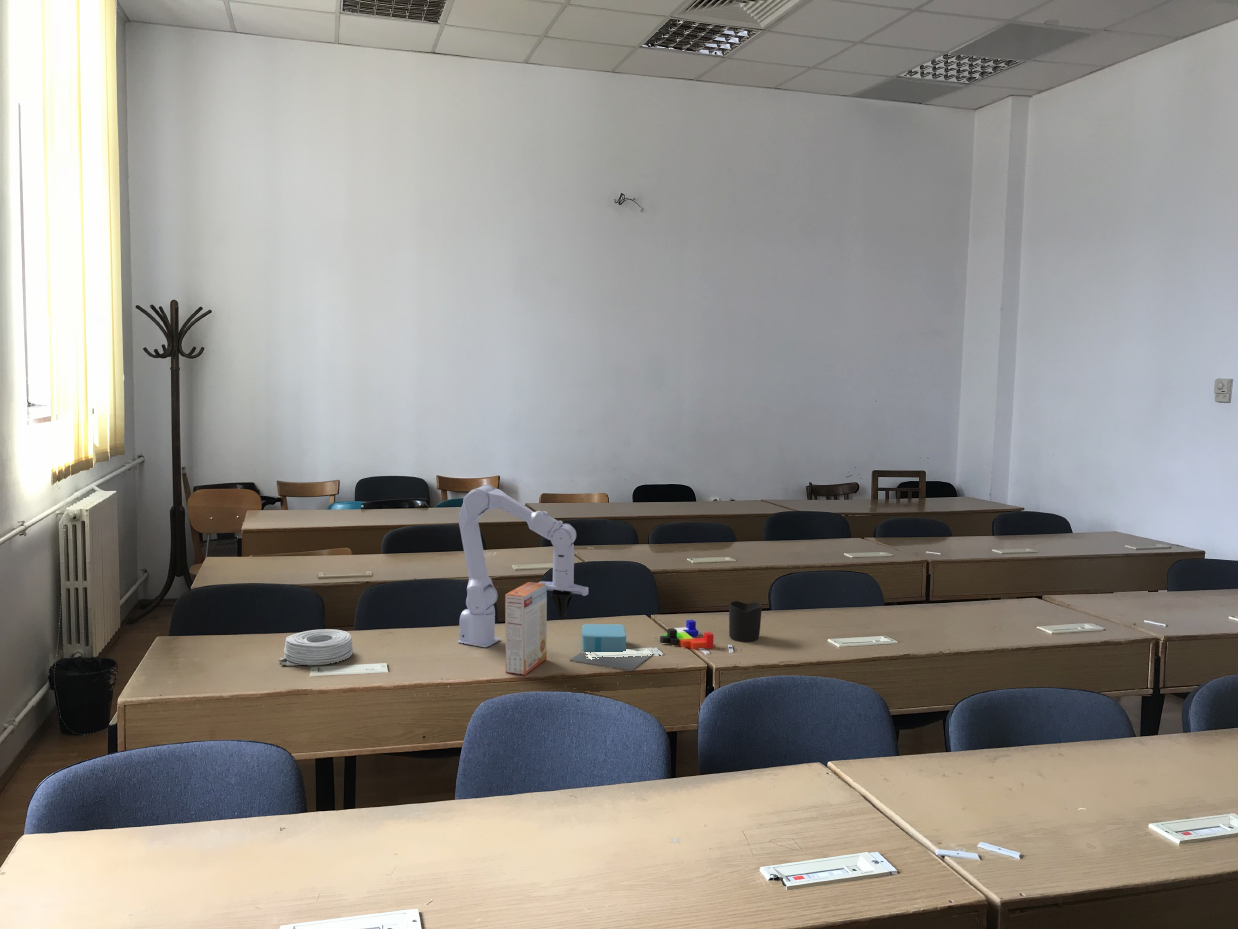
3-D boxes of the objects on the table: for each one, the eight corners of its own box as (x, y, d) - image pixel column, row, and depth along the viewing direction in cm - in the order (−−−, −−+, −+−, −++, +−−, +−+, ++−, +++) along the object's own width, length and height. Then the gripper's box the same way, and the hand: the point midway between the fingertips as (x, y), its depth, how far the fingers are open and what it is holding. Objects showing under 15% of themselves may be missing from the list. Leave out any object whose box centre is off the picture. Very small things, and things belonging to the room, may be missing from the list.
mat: (569, 660, 252) (569, 659, 252) (594, 644, 266) (594, 643, 266) (631, 671, 245) (631, 670, 245) (654, 653, 259) (654, 652, 259)
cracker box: (526, 656, 254) (527, 580, 252) (547, 659, 252) (548, 583, 250) (503, 673, 241) (504, 593, 239) (524, 676, 239) (525, 595, 237)
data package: (582, 652, 258) (626, 652, 259) (582, 636, 258) (626, 636, 258) (581, 639, 270) (623, 639, 271) (582, 623, 269) (624, 624, 270)
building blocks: (651, 637, 276) (652, 622, 276) (692, 633, 280) (693, 619, 280) (670, 652, 262) (671, 637, 262) (713, 649, 266) (714, 634, 266)
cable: (274, 667, 242) (274, 644, 241) (296, 646, 259) (295, 625, 258) (343, 669, 242) (342, 646, 242) (360, 647, 260) (360, 626, 259)
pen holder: (744, 644, 269) (746, 610, 268) (721, 636, 277) (722, 603, 276) (767, 639, 275) (768, 605, 274) (743, 631, 283) (745, 598, 281)
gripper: (593, 569, 260) (592, 617, 261) (546, 563, 265) (546, 610, 267) (582, 574, 253) (581, 623, 255) (534, 568, 259) (534, 616, 261)
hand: (562, 617), depth 261 cm, fingers closed
